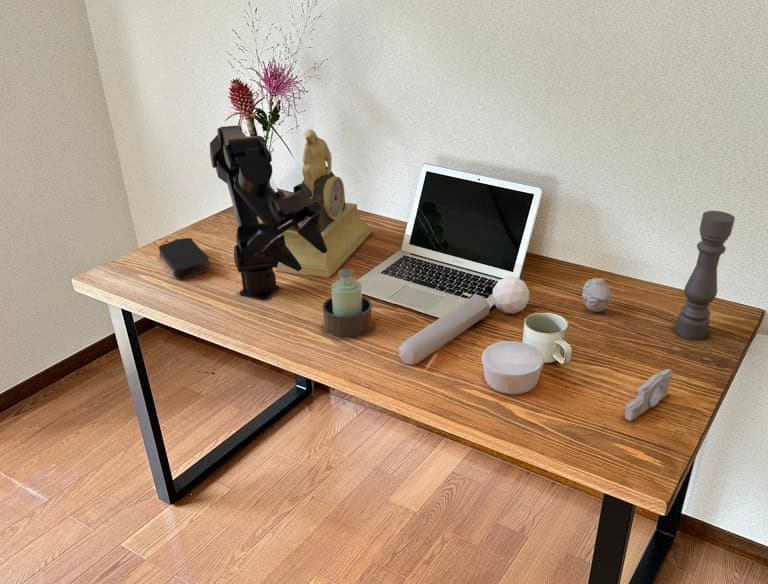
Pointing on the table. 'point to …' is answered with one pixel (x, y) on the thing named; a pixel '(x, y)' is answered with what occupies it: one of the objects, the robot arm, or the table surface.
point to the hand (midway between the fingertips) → (313, 260)
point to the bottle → (346, 295)
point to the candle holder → (704, 275)
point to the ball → (510, 295)
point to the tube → (444, 330)
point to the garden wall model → (649, 394)
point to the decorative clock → (325, 216)
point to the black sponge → (184, 258)
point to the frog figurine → (596, 294)
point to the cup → (347, 321)
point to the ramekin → (512, 366)
